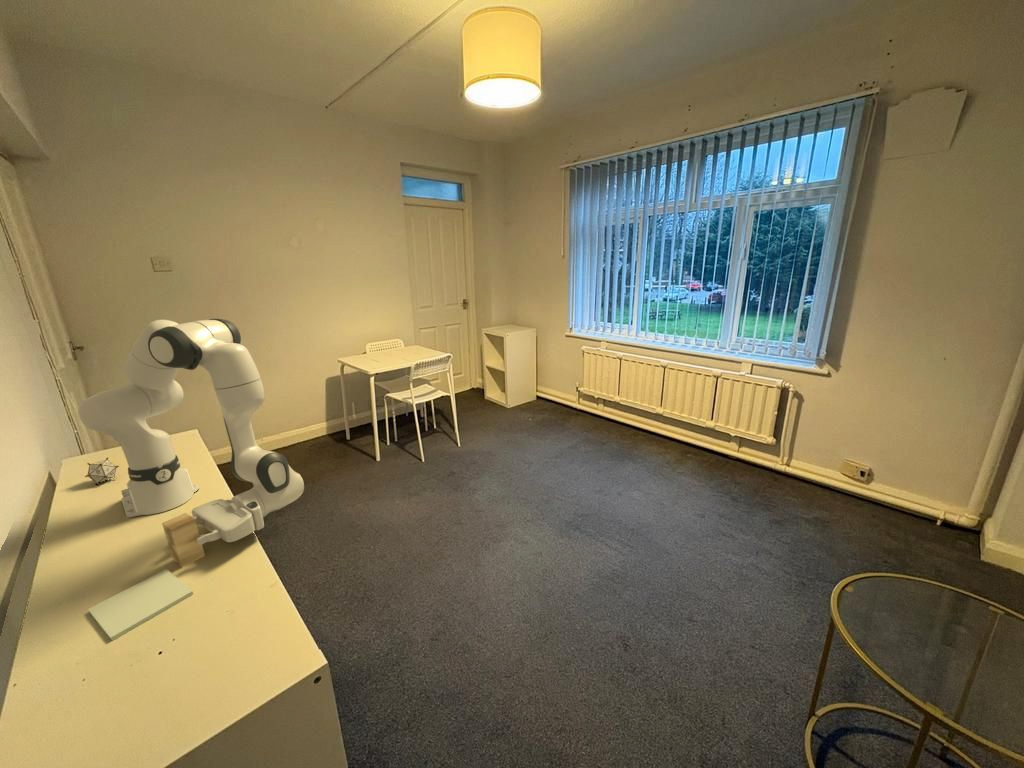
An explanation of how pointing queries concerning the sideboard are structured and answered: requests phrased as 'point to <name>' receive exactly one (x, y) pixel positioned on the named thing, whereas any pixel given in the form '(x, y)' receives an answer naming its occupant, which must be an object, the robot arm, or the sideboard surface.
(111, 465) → the game die
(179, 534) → the maple block
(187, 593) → the sage mat
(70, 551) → the sideboard surface
